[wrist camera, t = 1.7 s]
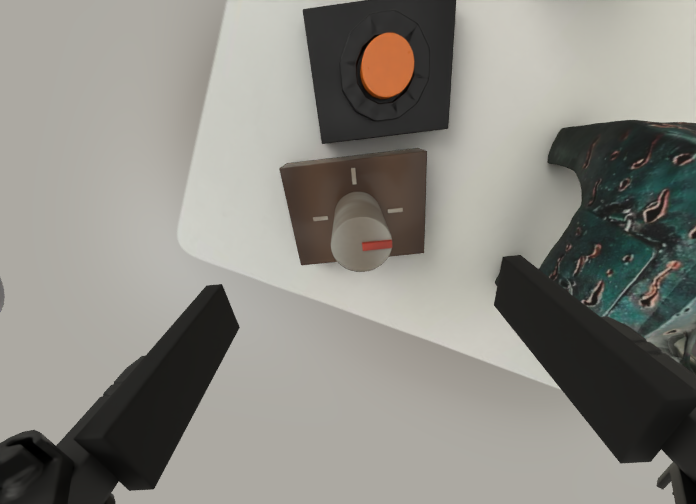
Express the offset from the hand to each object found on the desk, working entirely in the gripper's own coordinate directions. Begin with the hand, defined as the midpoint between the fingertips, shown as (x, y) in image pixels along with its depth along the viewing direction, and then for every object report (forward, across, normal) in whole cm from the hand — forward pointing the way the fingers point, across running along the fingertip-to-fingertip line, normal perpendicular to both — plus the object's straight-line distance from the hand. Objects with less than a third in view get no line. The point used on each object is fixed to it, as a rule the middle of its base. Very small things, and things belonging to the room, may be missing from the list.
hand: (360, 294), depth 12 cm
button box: (+16, +3, +10) cm, 20 cm away
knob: (+13, 0, -1) cm, 13 cm away
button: (+13, +3, +10) cm, 17 cm away
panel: (+16, 0, 0) cm, 17 cm away
